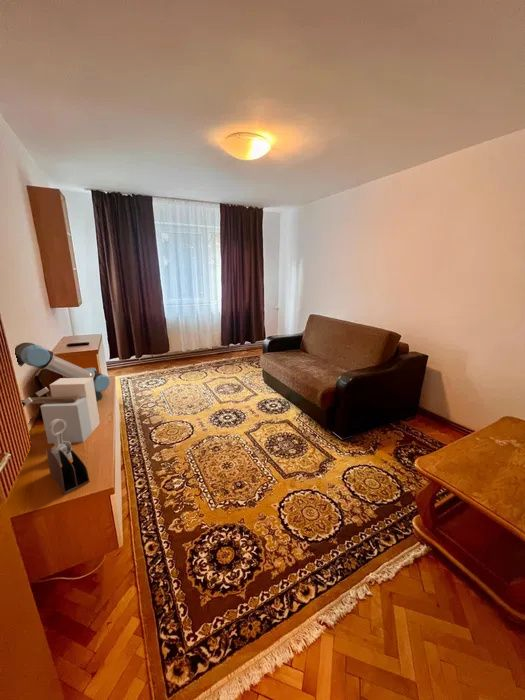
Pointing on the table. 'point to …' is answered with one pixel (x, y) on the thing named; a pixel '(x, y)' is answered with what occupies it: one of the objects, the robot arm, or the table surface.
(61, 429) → the engine component
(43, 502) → the table surface
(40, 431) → the table surface
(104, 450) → the table surface
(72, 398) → the walnut axle bar
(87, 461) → the table surface
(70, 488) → the letter holder
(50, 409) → the stepped parts shelf
